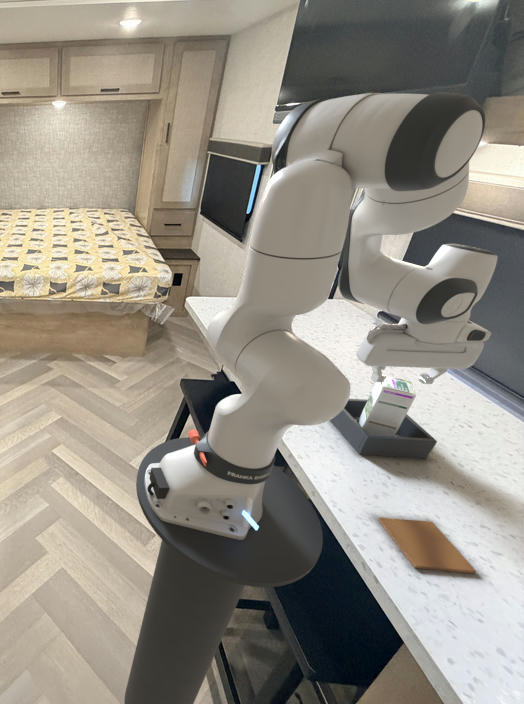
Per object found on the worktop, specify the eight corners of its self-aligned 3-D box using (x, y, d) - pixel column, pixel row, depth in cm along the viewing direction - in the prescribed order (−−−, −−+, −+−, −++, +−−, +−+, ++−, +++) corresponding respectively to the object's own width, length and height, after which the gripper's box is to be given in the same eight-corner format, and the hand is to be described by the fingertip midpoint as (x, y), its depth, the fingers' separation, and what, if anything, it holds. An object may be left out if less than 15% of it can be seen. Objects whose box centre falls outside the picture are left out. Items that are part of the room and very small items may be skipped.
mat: (414, 568, 65) (415, 565, 65) (377, 519, 73) (378, 517, 73) (474, 573, 64) (476, 571, 64) (430, 523, 72) (432, 521, 72)
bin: (358, 454, 87) (367, 437, 85) (324, 413, 99) (331, 397, 97) (426, 458, 86) (437, 441, 83) (383, 416, 98) (391, 400, 95)
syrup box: (390, 446, 89) (419, 395, 82) (357, 437, 92) (383, 386, 85) (386, 431, 93) (413, 381, 86) (354, 422, 96) (379, 373, 89)
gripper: (384, 331, 77) (357, 388, 84) (501, 334, 75) (464, 392, 81) (363, 316, 83) (339, 371, 89) (472, 319, 80) (439, 375, 87)
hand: (400, 381), depth 85 cm, fingers open, 8 cm apart
